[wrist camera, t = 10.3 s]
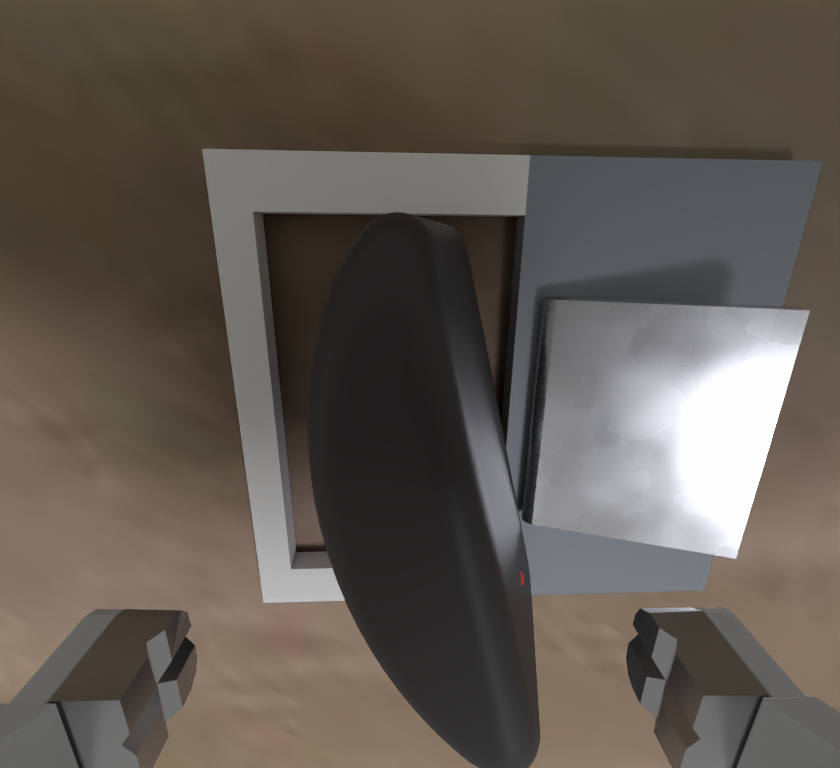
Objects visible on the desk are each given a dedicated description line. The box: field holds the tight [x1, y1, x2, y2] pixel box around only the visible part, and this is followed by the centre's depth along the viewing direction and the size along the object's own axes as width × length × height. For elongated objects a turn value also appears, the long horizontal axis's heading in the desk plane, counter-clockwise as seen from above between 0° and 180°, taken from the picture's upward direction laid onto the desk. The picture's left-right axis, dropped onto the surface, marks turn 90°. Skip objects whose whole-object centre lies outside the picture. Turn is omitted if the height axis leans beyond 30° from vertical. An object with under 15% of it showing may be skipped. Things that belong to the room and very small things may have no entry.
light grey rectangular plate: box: [521, 297, 810, 559], centre depth 17 cm, size 8×10×1 cm
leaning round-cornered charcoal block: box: [308, 212, 540, 768], centre depth 15 cm, size 16×5×9 cm, turn 13°
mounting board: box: [202, 149, 823, 603], centre depth 19 cm, size 22×20×1 cm
